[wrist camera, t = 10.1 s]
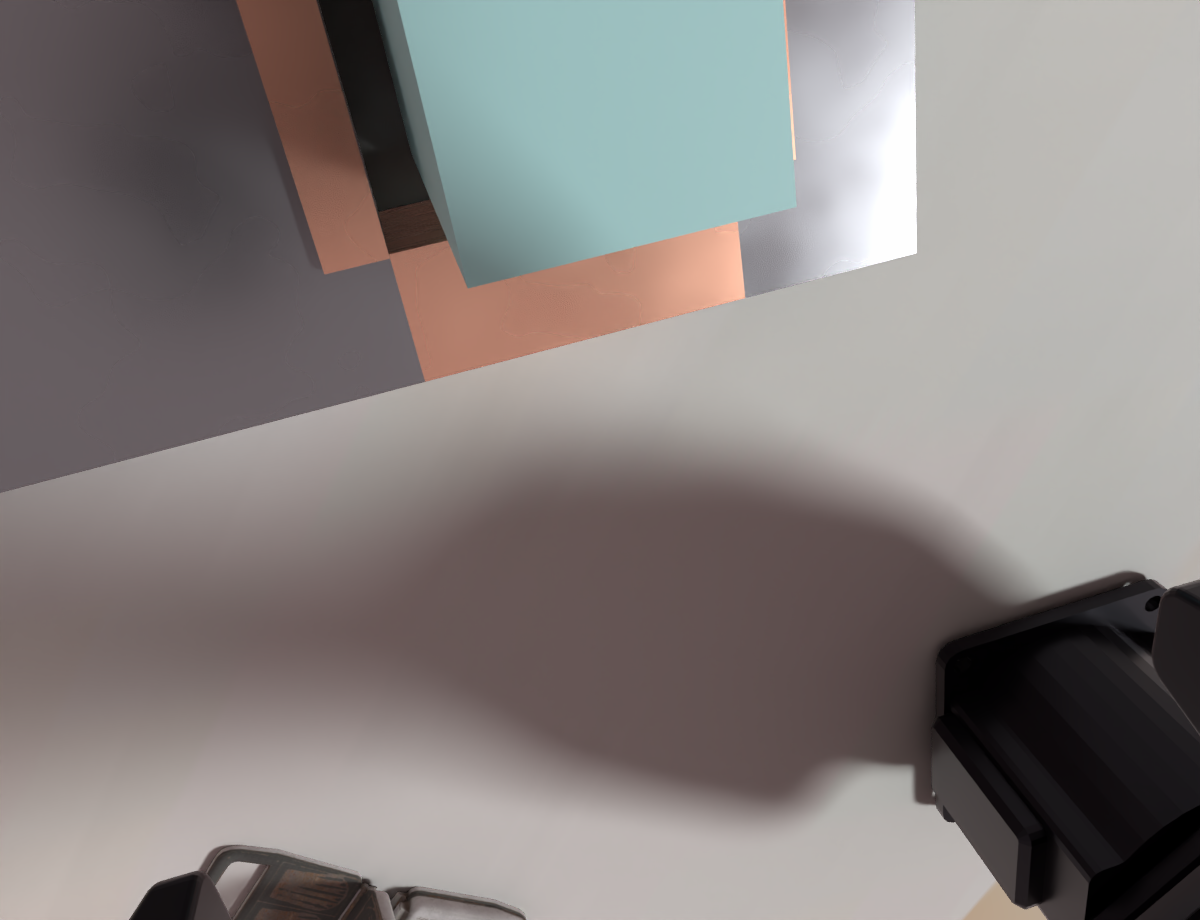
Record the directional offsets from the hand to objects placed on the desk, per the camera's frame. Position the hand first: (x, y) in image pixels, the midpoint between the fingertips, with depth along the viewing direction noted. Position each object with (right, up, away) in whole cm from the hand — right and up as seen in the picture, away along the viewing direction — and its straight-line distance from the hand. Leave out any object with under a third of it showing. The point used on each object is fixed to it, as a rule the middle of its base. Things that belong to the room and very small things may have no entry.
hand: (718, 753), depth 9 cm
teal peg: (-3, +10, +8) cm, 13 cm away
